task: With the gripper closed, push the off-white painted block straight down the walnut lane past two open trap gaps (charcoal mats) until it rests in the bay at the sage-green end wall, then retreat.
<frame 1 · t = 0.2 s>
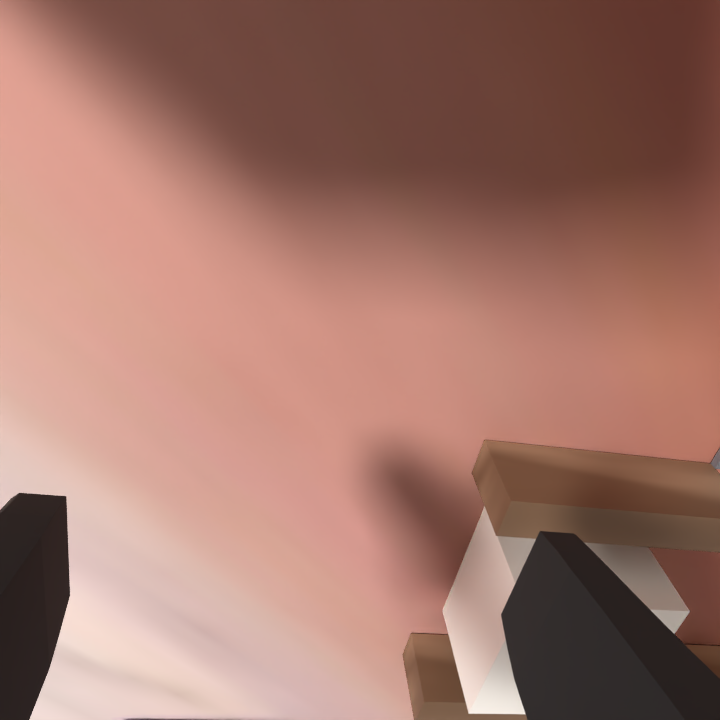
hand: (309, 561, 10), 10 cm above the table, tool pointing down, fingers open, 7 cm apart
trap lane: (663, 574, 27), on the table
block: (531, 562, 26), on the table
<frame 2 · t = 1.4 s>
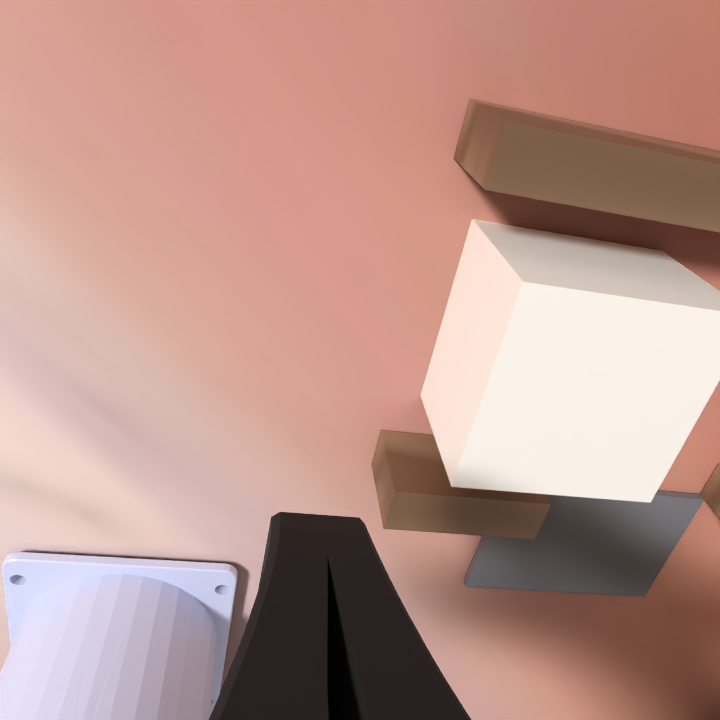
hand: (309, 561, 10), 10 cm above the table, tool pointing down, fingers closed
trap lane: (703, 350, 21), on the table
block: (534, 324, 20), on the table
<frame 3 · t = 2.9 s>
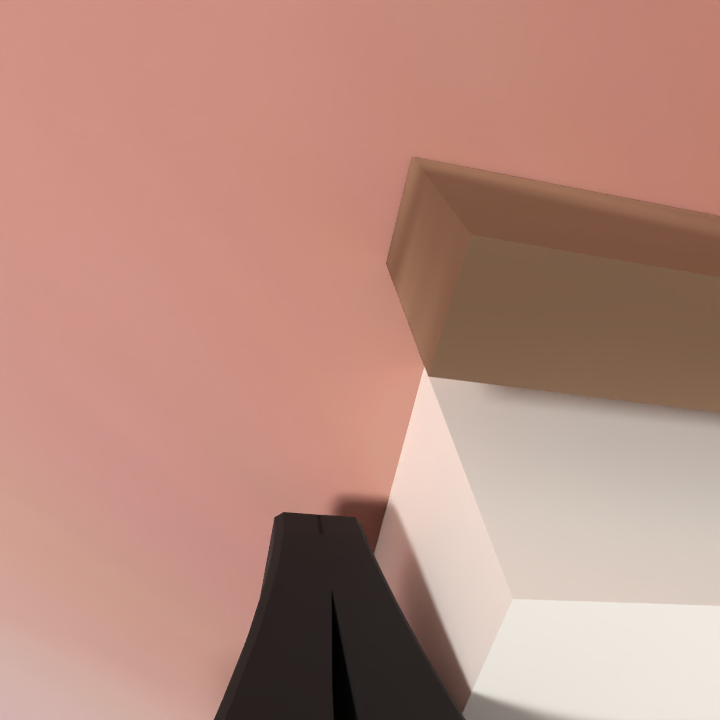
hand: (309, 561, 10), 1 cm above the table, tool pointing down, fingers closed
block: (538, 513, 12), on the table, touching gripper
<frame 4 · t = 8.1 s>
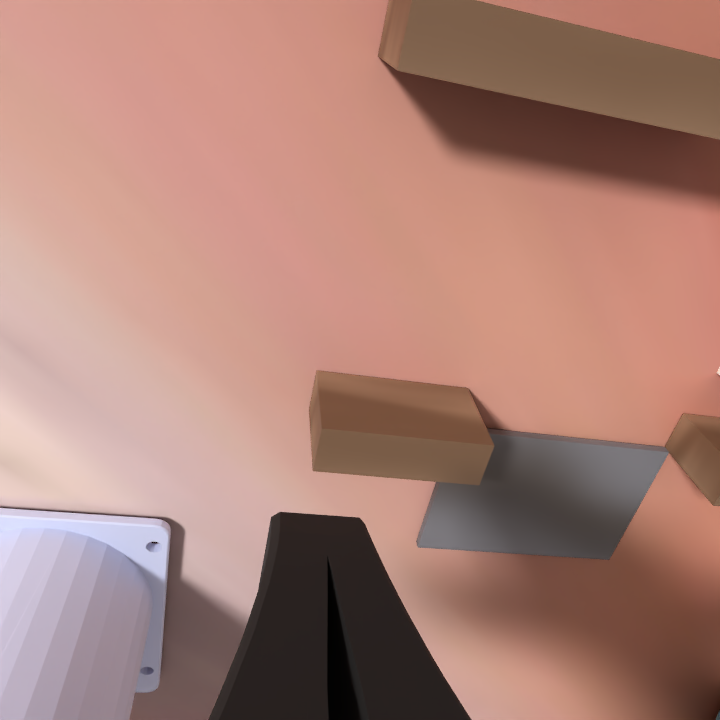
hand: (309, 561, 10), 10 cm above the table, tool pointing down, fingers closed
trap lane: (662, 284, 19), on the table
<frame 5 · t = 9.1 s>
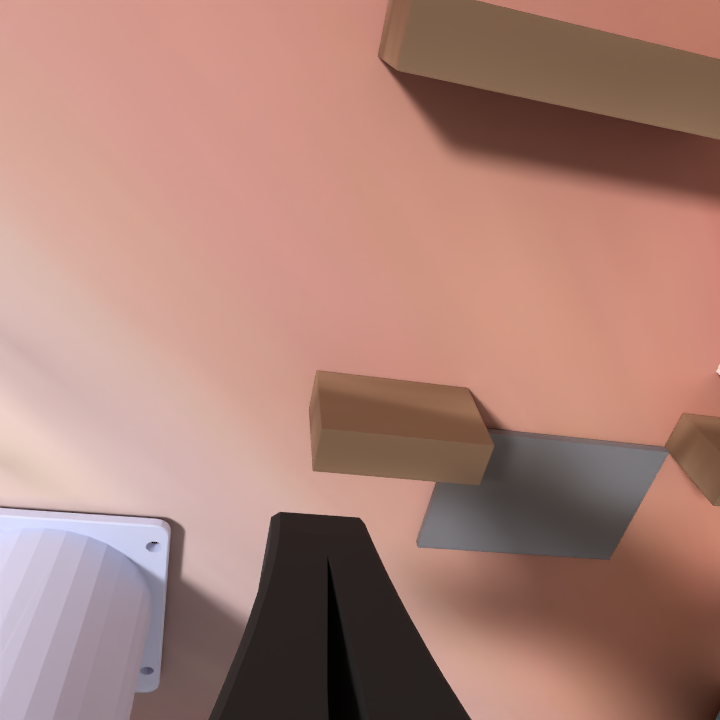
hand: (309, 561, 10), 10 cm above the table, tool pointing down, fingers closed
trap lane: (662, 284, 19), on the table
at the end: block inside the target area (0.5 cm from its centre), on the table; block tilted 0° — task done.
